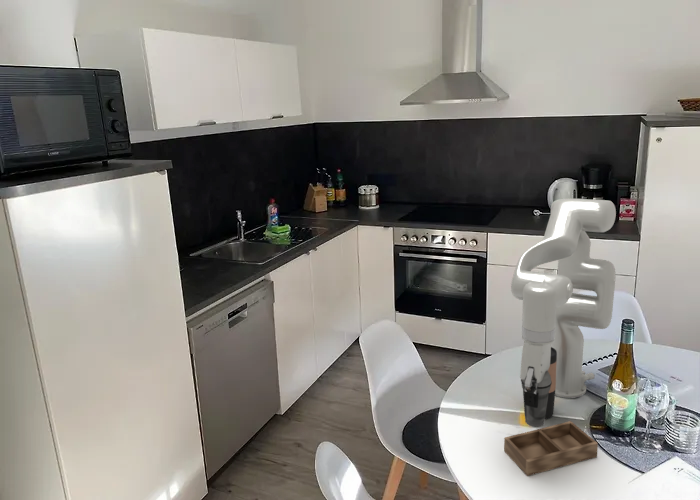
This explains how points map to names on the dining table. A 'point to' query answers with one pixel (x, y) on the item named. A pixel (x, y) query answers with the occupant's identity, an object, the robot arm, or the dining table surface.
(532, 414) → the beverage cup
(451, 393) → the dining table surface
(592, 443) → the tray
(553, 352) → the travel mug
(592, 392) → the dining table surface
